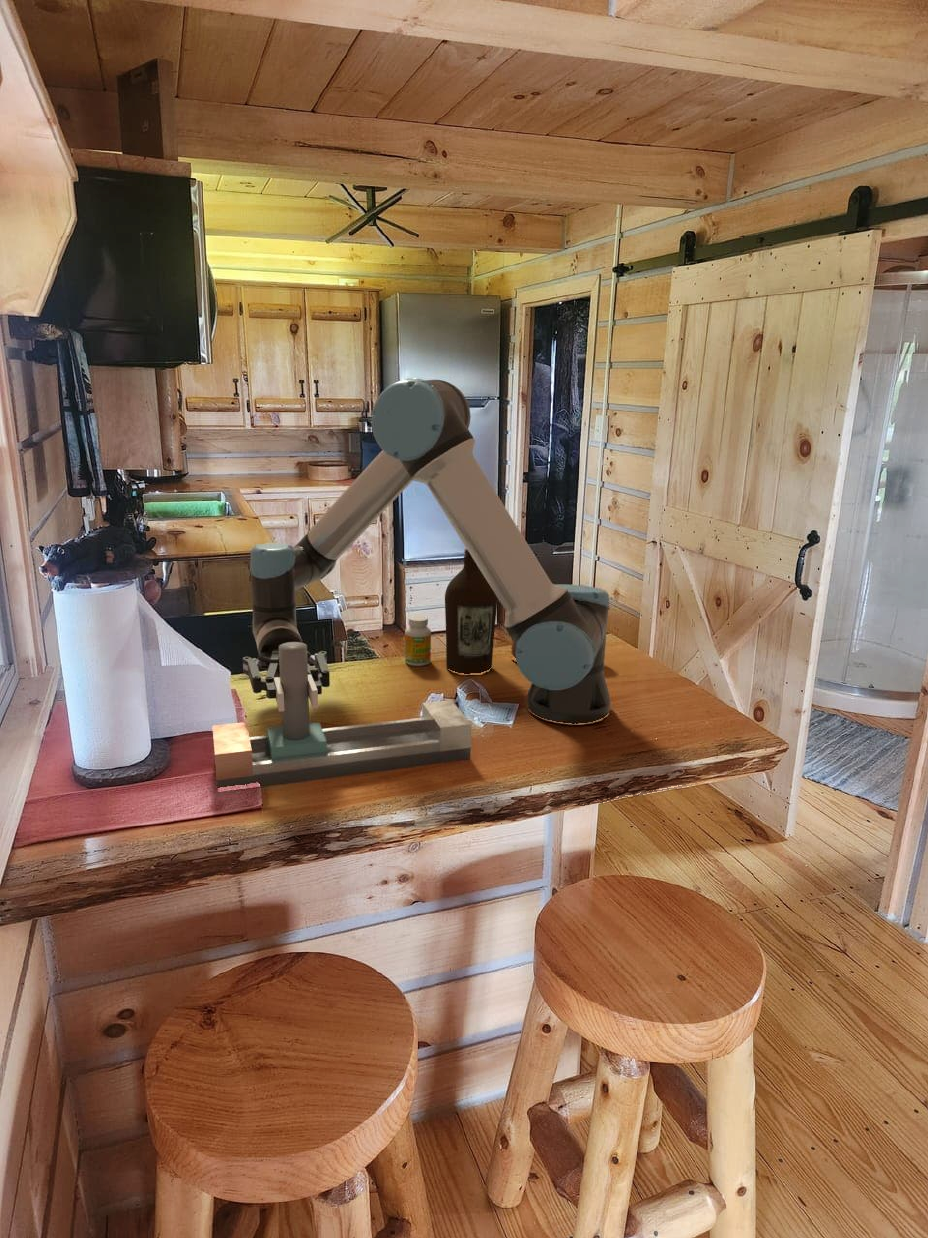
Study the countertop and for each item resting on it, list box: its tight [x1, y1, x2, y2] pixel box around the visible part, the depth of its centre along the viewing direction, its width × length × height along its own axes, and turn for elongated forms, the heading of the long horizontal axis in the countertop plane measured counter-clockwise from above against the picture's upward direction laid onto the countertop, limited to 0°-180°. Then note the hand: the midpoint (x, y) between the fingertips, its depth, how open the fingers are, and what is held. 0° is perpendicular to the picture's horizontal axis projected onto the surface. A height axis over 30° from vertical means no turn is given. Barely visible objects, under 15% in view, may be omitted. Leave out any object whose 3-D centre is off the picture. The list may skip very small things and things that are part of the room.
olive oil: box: [444, 548, 498, 674], centre depth 159 cm, size 11×11×25 cm
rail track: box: [211, 699, 472, 788], centre depth 122 cm, size 38×10×6 cm, turn 109°
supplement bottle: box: [404, 615, 432, 667], centre depth 164 cm, size 5×5×10 cm
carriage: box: [266, 642, 327, 760], centre depth 117 cm, size 8×7×17 cm
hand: (298, 700), depth 112 cm, fingers closed on carriage, 4 cm apart
